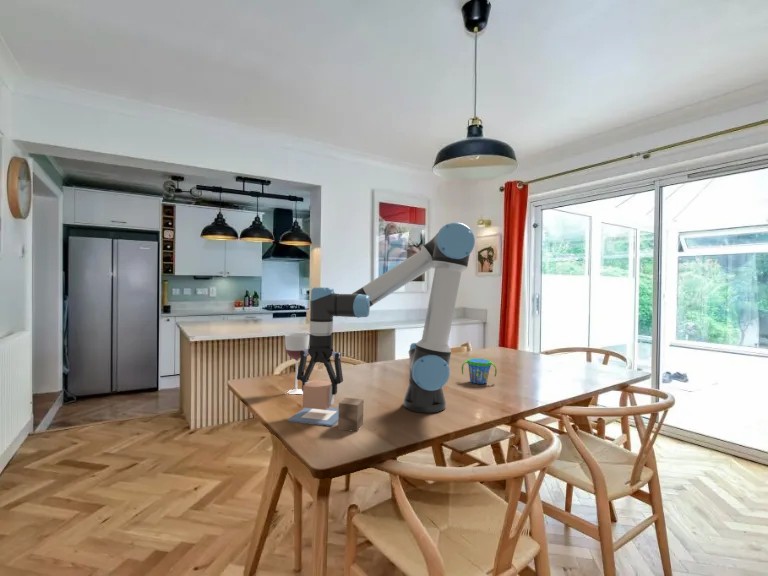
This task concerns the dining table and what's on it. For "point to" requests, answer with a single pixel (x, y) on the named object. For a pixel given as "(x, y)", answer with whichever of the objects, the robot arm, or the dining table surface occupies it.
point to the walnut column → (350, 414)
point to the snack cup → (479, 370)
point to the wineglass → (296, 352)
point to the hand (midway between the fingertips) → (319, 402)
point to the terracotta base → (316, 395)
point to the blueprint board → (316, 416)
